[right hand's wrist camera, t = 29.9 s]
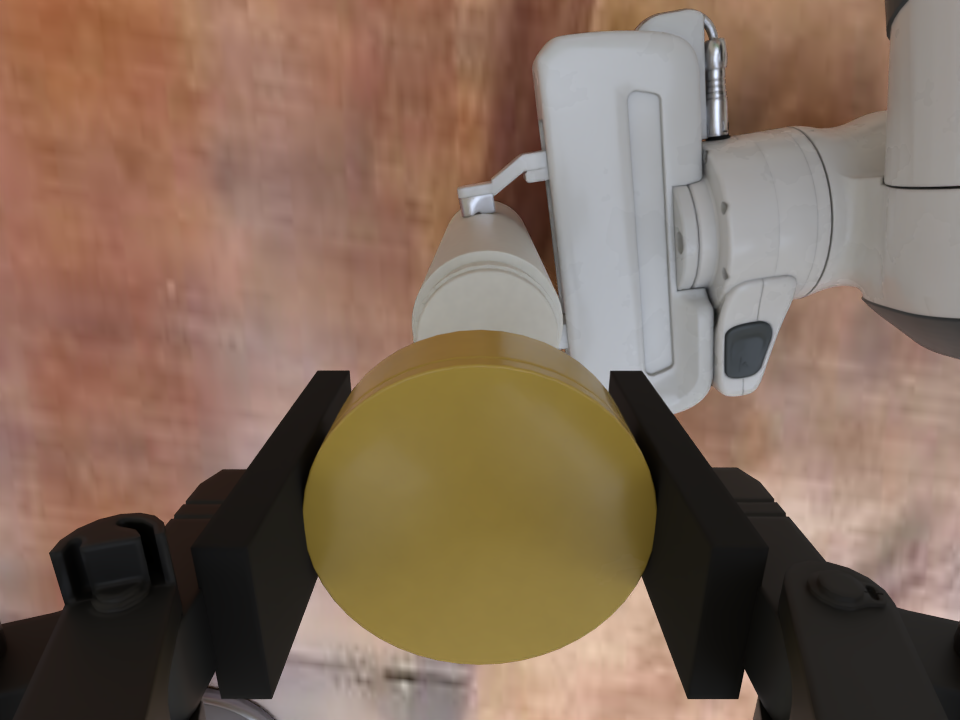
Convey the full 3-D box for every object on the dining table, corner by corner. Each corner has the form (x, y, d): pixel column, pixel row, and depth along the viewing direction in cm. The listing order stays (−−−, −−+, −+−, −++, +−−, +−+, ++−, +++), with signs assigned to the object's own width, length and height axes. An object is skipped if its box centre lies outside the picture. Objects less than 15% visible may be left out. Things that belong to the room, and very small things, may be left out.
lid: (322, 577, 13) (296, 648, 11) (336, 308, 11) (307, 341, 9) (597, 607, 13) (615, 681, 12) (663, 350, 11) (699, 391, 9)
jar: (437, 206, 37) (391, 272, 19) (523, 194, 37) (561, 248, 18) (451, 289, 39) (421, 424, 20) (532, 278, 38) (576, 404, 20)
